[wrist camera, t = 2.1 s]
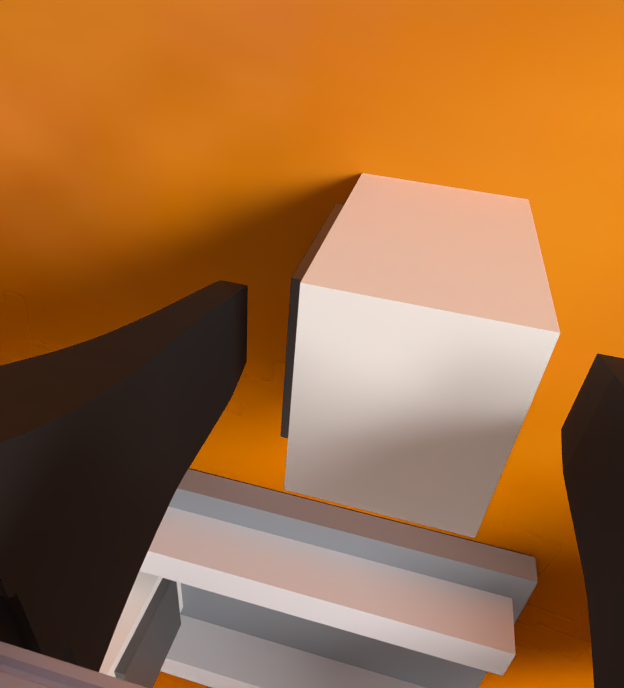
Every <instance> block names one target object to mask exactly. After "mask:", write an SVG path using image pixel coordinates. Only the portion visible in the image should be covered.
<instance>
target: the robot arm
mask: <svg viewBox="0 0 624 688" xmlns="http://www.w3.org/2000/svg"><path fill="white" fill-rule="evenodd" d="M247 290H248V286H247V285H242V284H237V283H232V282H226V281H218V282H216V283H213V284H211V285H209V286H207V287H205V288H203V289H201V290H199V291H197V292H195V293H193V294H191V295H189V296H187V297H185V298H183V299H181V300H179V301H177V302H175V303H173V304H171V305H169V306H167V307H165V308H163V309H161V310H159V311H157V312H155V313H153V314H151V315H148V316H146V317H144V318H142V319H139V320H137V321H135V322H133V323H130V324H128V325H126V326H124V327H121V328H119V329H117V330H114V331H112V332H110V333H107V334H105V335H102V336H99V337H97V338H94V339H91V340H89V341H86V342H83V343H80V344H77V345H74V346H71V347H68V348H65V349H62V350H58V351H55V352H51V353H48V354H44V355H40V356H36V357H32V358H29V359H25V360H21V361H17V362H13V363H10V364H6V365H1V366H0V688H147V687H143V686H140V685H137V684H134V683H131V682H128V681H124V680H121V679H118V678H115V677H112V676H109V675H105V674H102V673H99V670H100V668H101V665H102V663H103V660H104V657H105V655H106V652H107V650H108V647H109V644H110V642H111V639H112V637H113V634H114V632H115V629H116V626H117V624H118V621H119V619H120V616H121V614H122V612H123V609H124V607H125V604H126V602H127V600H128V597H129V595H130V592H131V590H132V587H133V585H134V583H135V580H136V578H137V575H138V573H139V571H140V568H141V566H142V564H143V562H144V559H145V557H146V555H147V553H148V550H149V548H150V546H151V543H152V541H153V539H154V537H155V534H156V532H157V530H158V528H159V526H160V523H161V521H162V519H163V517H164V515H165V513H166V511H167V508H168V506H169V504H170V502H171V500H172V498H173V496H174V493H175V491H176V490H177V488H178V486H179V484H180V482H181V480H182V479H183V477H184V475H185V473H186V472H187V470H188V468H189V467H190V465H191V463H192V462H193V460H194V459H195V457H196V455H197V454H198V452H199V450H200V449H201V447H202V445H203V444H204V442H205V440H206V439H207V437H208V436H209V434H210V432H211V431H212V429H213V427H214V426H215V424H216V422H217V421H218V419H219V417H220V416H221V414H222V412H223V411H224V409H225V407H226V406H227V404H228V402H229V401H230V399H231V397H232V395H233V392H234V390H235V388H236V386H237V383H238V381H239V379H240V376H241V374H242V371H243V369H244V366H245V364H246V359H247ZM561 437H562V461H563V475H564V480H565V485H566V490H567V496H568V501H569V506H570V511H571V516H572V520H573V525H574V530H575V535H576V540H577V544H578V549H579V554H580V559H581V564H582V569H583V573H584V580H585V586H586V592H587V599H588V610H589V621H590V633H591V644H592V658H593V674H594V688H624V359H623V358H618V357H613V356H608V355H602V354H597V356H596V358H595V360H594V362H593V364H592V366H591V368H590V370H589V372H588V374H587V377H586V379H585V381H584V383H583V385H582V387H581V389H580V391H579V393H578V395H577V398H576V400H575V402H574V404H573V406H572V408H571V410H570V412H569V414H568V416H567V418H566V421H565V423H564V425H563V427H562V429H561Z"/></svg>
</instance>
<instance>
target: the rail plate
mask: <svg viewBox="0 0 624 688" xmlns="http://www.w3.org/2000/svg"><path fill="white" fill-rule="evenodd" d="M537 583H538V579H537V569H536V559H535V557H532V556H528V555H524V554H521V553H517V552H513V551H509V550H505V549H501V548H497V547H493V546H489V545H485V544H481V543H477V542H473V541H469V540H466V539H462V538H458V537H454V536H450V535H446V534H442V533H438V532H434V531H430V530H426V529H422V528H418V527H415V526H411V525H407V524H403V523H399V522H395V521H391V520H387V519H383V518H379V517H375V516H371V515H367V514H364V513H360V512H356V511H352V510H348V509H344V508H340V507H336V506H332V505H328V504H324V503H320V502H316V501H313V500H309V499H305V498H301V497H297V496H293V495H289V494H285V493H281V492H277V491H273V490H269V489H265V488H262V487H258V486H254V485H250V484H246V483H242V482H238V481H234V480H230V479H226V478H222V477H218V476H214V475H211V474H207V473H203V472H199V471H195V470H191V469H188V470H187V472H186V473H185V475H184V477H183V479H182V480H181V482H180V484H179V486H178V488H177V490H176V491H175V493H174V496H173V498H172V500H171V502H170V504H169V506H168V508H167V511H166V513H165V515H164V517H163V519H162V521H161V523H160V526H159V528H158V530H157V532H156V534H155V537H154V539H153V541H152V543H151V546H150V548H149V550H148V553H147V555H146V557H145V559H144V562H143V564H142V566H141V568H140V571H139V573H138V575H137V578H136V580H135V583H134V585H133V587H132V590H131V592H130V595H129V597H128V600H127V602H126V604H125V607H124V609H123V612H122V614H121V616H120V619H119V621H118V624H117V626H116V629H115V632H114V634H113V637H112V639H111V642H110V644H109V647H108V650H107V652H106V655H105V657H104V660H103V663H102V665H101V668H100V670H99V673H102V674H105V675H109V676H112V677H115V678H118V679H121V680H124V681H128V682H131V683H134V684H137V685H140V686H143V687H147V688H153V686H154V683H155V681H156V679H157V677H158V674H159V672H160V671H162V672H165V673H168V674H171V675H174V676H177V677H181V678H184V679H187V680H190V681H193V682H196V683H199V684H203V685H206V686H209V687H212V688H478V687H479V685H480V683H481V682H482V680H483V678H484V676H485V675H486V673H487V672H491V673H494V674H498V675H501V676H503V675H504V673H505V671H506V670H507V668H508V666H509V665H510V663H511V661H512V660H513V658H514V656H515V655H516V653H515V636H514V624H515V622H516V620H517V618H518V617H519V615H520V613H521V611H522V609H523V608H524V606H525V604H526V602H527V601H528V599H529V597H530V595H531V594H532V592H533V590H534V588H535V587H536V585H537Z"/></svg>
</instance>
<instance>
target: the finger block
mask: <svg viewBox="0 0 624 688" xmlns="http://www.w3.org/2000/svg"><path fill="white" fill-rule="evenodd" d="M559 335H560V330H559V326H558V321H557V317H556V313H555V309H554V305H553V300H552V296H551V292H550V288H549V284H548V279H547V275H546V271H545V267H544V263H543V258H542V254H541V250H540V246H539V242H538V237H537V233H536V229H535V225H534V221H533V216H532V212H531V208H530V204H529V200H528V199H523V198H516V197H510V196H504V195H498V194H491V193H485V192H479V191H472V190H466V189H460V188H454V187H447V186H441V185H435V184H428V183H422V182H416V181H410V180H403V179H397V178H391V177H384V176H378V175H372V174H366V173H362V174H361V176H360V178H359V180H358V182H357V183H356V185H355V187H354V189H353V190H352V192H351V194H350V196H349V197H348V199H347V201H346V203H345V204H339V203H336V205H335V206H334V208H333V209H332V211H331V213H330V214H329V216H328V218H327V219H326V221H325V223H324V224H323V226H322V228H321V229H320V231H319V233H318V234H317V236H316V238H315V239H314V241H313V243H312V244H311V246H310V248H309V249H308V251H307V253H306V254H305V256H304V257H303V259H302V261H301V262H300V264H299V266H298V267H297V269H296V271H295V272H294V274H293V276H292V277H291V289H290V304H289V319H288V334H287V349H286V364H285V379H284V393H283V408H282V423H281V437H285V438H288V446H287V459H286V472H285V484H284V490H288V491H291V492H295V493H299V494H303V495H307V496H311V497H315V498H319V499H323V500H327V501H331V502H335V503H339V504H343V505H347V506H351V507H355V508H358V509H362V510H366V511H370V512H374V513H378V514H382V515H386V516H390V517H394V518H398V519H402V520H406V521H410V522H414V523H418V524H422V525H425V526H429V527H433V528H437V529H441V530H445V531H449V532H453V533H457V534H461V535H465V536H469V537H473V538H475V537H476V534H477V532H478V529H479V527H480V525H481V522H482V520H483V517H484V515H485V513H486V510H487V508H488V505H489V503H490V501H491V498H492V496H493V493H494V491H495V489H496V486H497V484H498V481H499V479H500V477H501V474H502V472H503V469H504V467H505V465H506V462H507V460H508V457H509V455H510V452H511V450H512V448H513V445H514V443H515V440H516V438H517V436H518V433H519V431H520V428H521V426H522V424H523V421H524V419H525V416H526V414H527V412H528V409H529V407H530V404H531V402H532V400H533V397H534V395H535V392H536V390H537V388H538V385H539V383H540V380H541V378H542V376H543V373H544V371H545V368H546V366H547V364H548V361H549V359H550V356H551V354H552V351H553V349H554V347H555V344H556V342H557V339H558V337H559Z"/></svg>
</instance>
